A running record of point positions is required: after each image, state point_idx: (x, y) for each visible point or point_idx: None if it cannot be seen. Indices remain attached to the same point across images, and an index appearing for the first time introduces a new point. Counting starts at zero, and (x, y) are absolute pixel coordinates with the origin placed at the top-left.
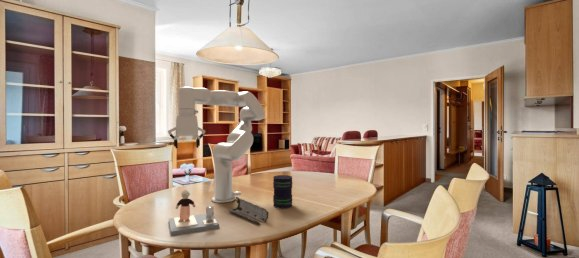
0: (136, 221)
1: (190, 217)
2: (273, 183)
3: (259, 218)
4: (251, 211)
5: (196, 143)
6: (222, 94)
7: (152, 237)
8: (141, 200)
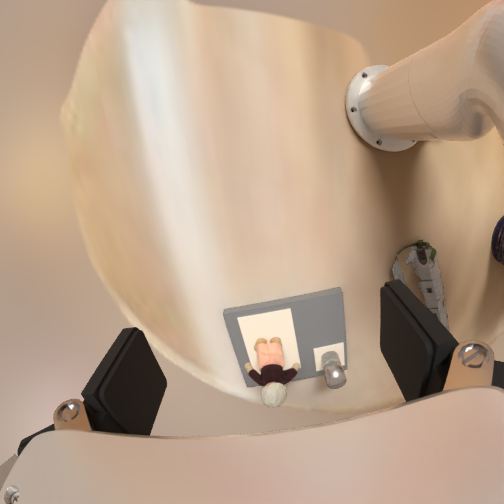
0: (137, 282)
1: (282, 324)
2: None
3: None
4: (436, 298)
5: (399, 342)
6: None
7: (212, 381)
8: (87, 63)
